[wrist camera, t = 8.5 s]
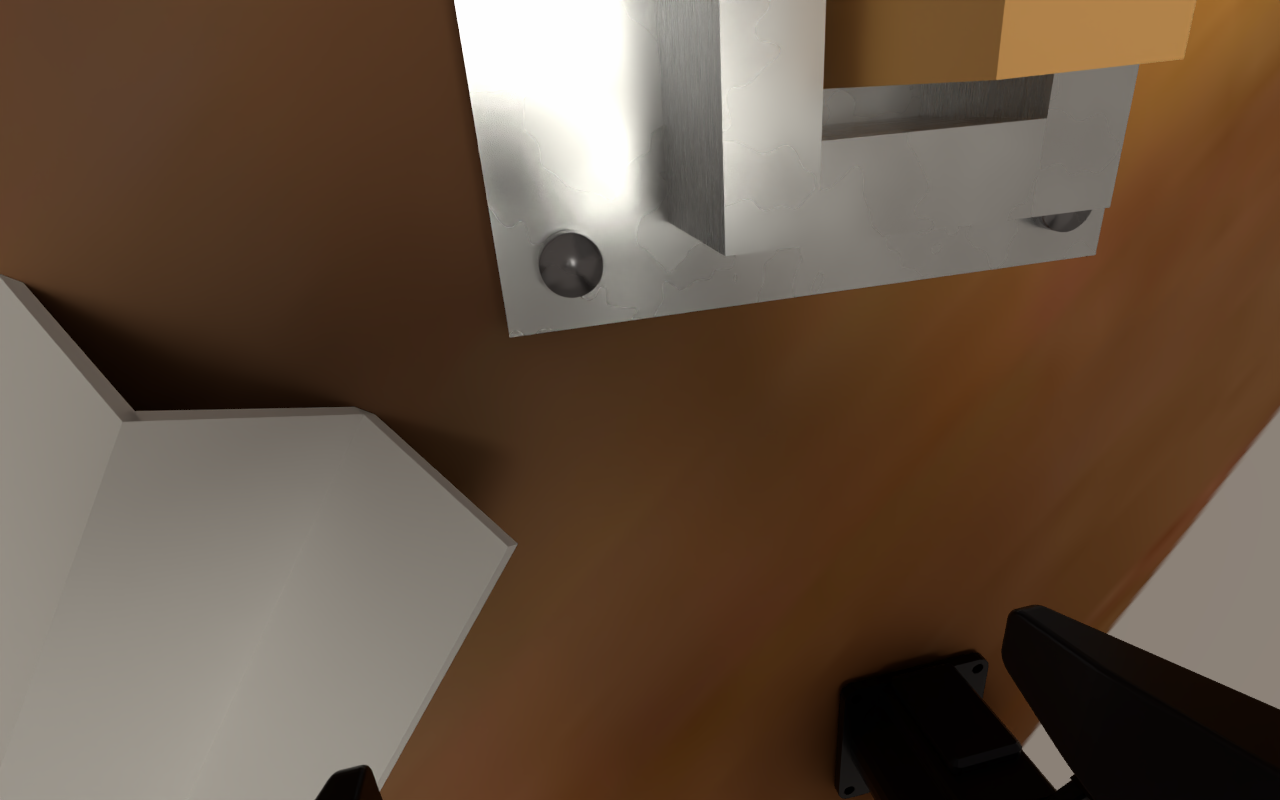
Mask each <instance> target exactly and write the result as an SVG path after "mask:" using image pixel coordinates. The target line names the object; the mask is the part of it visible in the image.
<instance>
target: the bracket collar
mask: <svg viewBox="0 0 1280 800" xmlns="http://www.w3.org/2000/svg"><path fill="white" fill-rule="evenodd" d="M454 2H455V8H456V14H457V20H458V26H459V32H460V38H461V44H462V51H463V57H464V63H465V69H466V75H467V81H468V87H469V93H470V99H471V105H472V111H473V117H474V123H475V129H476V135H477V142H478V148H479V154H480V160H481V166H482V172H483V178H484V184H485V190H486V196H487V202H488V208H489V214H490V220H491V226H492V232H493V239H494V245H495V251H496V257H497V263H498V269H499V275H500V281H501V287H502V293H503V299H504V305H505V311H506V317H507V323H508V330H509V336H510V337H517V336H524V335H531V334H538V333H546V332H553V331H560V330H567V329H574V328H581V327H588V326H595V325H602V324H609V323H616V322H623V321H630V320H638V319H645V318H652V317H659V316H666V315H673V314H680V313H687V312H694V311H701V310H708V309H715V308H722V307H730V306H737V305H744V304H751V303H758V302H765V301H772V300H779V299H786V298H793V297H800V296H807V295H814V294H821V293H829V292H836V291H843V290H850V289H857V288H864V287H871V286H878V285H885V284H892V283H899V282H906V281H913V280H921V279H928V278H935V277H942V276H949V275H956V274H963V273H970V272H977V271H984V270H991V269H998V268H1005V267H1013V266H1020V265H1027V264H1034V263H1041V262H1048V261H1055V260H1062V259H1069V258H1076V257H1083V256H1090V255H1095V254H1096V249H1097V244H1098V239H1099V234H1100V229H1101V224H1102V219H1103V214H1104V209H1105V208H1108V207H1110V204H1111V199H1112V194H1113V189H1114V185H1115V180H1116V175H1117V170H1118V165H1119V160H1120V155H1121V151H1122V146H1123V141H1124V136H1125V131H1126V126H1127V122H1128V117H1129V112H1130V107H1131V102H1132V97H1133V92H1134V88H1135V83H1136V78H1137V73H1138V68H1139V64H1135V65H1126V66H1117V67H1108V68H1099V69H1090V70H1081V71H1072V72H1063V73H1054V74H1045V75H1037V76H1028V77H1019V78H1010V79H1001V80H987V81H968V82H948V83H929V84H910V85H890V86H871V87H852V88H833V89H823V79H824V49H825V18H826V0H454Z"/></svg>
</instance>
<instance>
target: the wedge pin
mask: <svg viewBox="0 0 1280 800" xmlns="http://www.w3.org/2000/svg"><path fill="white" fill-rule="evenodd" d="M1195 5H1196V0H826V18H825V49H824V79H823V89H833V88H852V87H871V86H890V85H910V84H929V83H948V82H968V81H987V80H1001V79H1010V78H1019V77H1028V76H1037V75H1045V74H1054V73H1063V72H1072V71H1081V70H1090V69H1099V68H1108V67H1117V66H1126V65H1135V64H1144V63H1153V62H1162V61H1171V60H1180V59H1184V55H1185V51H1186V46H1187V42H1188V37H1189V32H1190V28H1191V23H1192V18H1193V14H1194V9H1195Z"/></svg>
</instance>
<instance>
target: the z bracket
mask: <svg viewBox="0 0 1280 800" xmlns="http://www.w3.org/2000/svg"><path fill="white" fill-rule="evenodd" d="M517 544H518V543H516V542H515V541H514V540H513V539H512V538H511V537H510V536H509V535H508V534H506V533H505V532H504V531H503V530H502V529H501V528H500V527H499V526H498V525H497V524H495V523H494V522H493V521H492V520H491V519H490V518H489V517H488V516H487V515H486V514H484V513H483V512H482V511H481V510H480V509H479V508H478V507H477V506H476V505H474V504H473V503H472V502H471V501H470V500H469V499H468V498H467V497H466V496H465V495H463V494H462V493H461V492H460V491H459V490H458V489H457V488H456V487H455V486H453V485H452V484H451V483H450V482H449V481H448V480H447V479H446V478H445V477H444V476H442V475H441V474H440V473H439V472H438V471H437V470H436V469H435V468H434V467H433V466H431V465H430V464H429V463H428V462H427V461H426V460H425V459H424V458H423V457H421V456H420V455H419V454H418V453H417V452H416V451H415V450H414V449H413V448H412V447H410V446H409V445H408V444H407V443H406V442H405V441H404V440H403V439H402V438H400V437H399V436H398V435H397V434H396V433H395V432H394V431H393V430H392V429H391V428H389V427H388V426H387V425H386V424H385V423H384V422H383V421H382V420H381V419H380V418H378V417H377V416H376V415H375V414H372V413H370V412H367V411H364V410H362V409H359V408H356V407H318V408H267V409H216V410H164V411H134V410H133V409H132V408H131V406H130V405H129V404H128V403H127V402H126V401H125V399H124V398H123V397H122V396H121V395H120V394H119V393H118V391H117V390H116V389H115V388H114V387H113V386H112V385H111V383H110V382H109V381H108V380H107V379H106V378H105V376H104V375H103V374H102V373H101V372H100V371H99V370H98V368H97V367H96V366H95V365H94V364H93V363H92V361H91V360H90V359H89V358H88V357H87V356H86V355H85V353H84V352H83V351H82V350H81V349H80V348H79V346H78V345H77V344H76V343H75V342H74V341H73V340H72V338H71V337H70V336H69V335H68V334H67V333H66V331H65V330H64V329H63V328H62V327H61V326H60V325H59V323H58V322H57V321H56V320H55V319H54V318H53V316H52V315H51V314H50V313H49V312H48V311H47V310H46V308H45V307H44V306H43V305H42V304H41V303H40V302H39V300H38V299H37V298H36V297H35V296H34V295H33V293H32V292H31V291H30V290H29V289H28V288H27V287H26V285H25V284H24V283H22V282H20V281H17V280H14V279H12V278H9V277H6V276H4V275H1V274H0V800H315V798H316V797H317V795H318V794H319V792H320V791H321V789H322V788H323V786H324V785H325V783H326V782H327V780H328V779H329V778H330V776H331V775H332V774H333V773H335V772H336V771H339V770H342V769H346V768H350V767H354V766H359V765H368V766H369V767H370V768H371V769H372V772H373V774H374V777H375V780H376V783H377V786H378V788H379V791H380V790H381V788H382V787H383V785H384V783H385V781H386V779H387V778H388V776H389V774H390V772H391V770H392V769H393V767H394V765H395V763H396V761H397V760H398V758H399V756H400V754H401V752H402V751H403V749H404V747H405V745H406V744H407V742H408V740H409V738H410V736H411V735H412V733H413V731H414V729H415V727H416V726H417V724H418V722H419V720H420V718H421V717H422V715H423V713H424V711H425V709H426V708H427V706H428V704H429V702H430V700H431V699H432V697H433V695H434V693H435V691H436V690H437V688H438V686H439V684H440V683H441V681H442V679H443V677H444V675H445V674H446V672H447V670H448V668H449V666H450V665H451V663H452V661H453V659H454V657H455V656H456V654H457V652H458V650H459V648H460V647H461V645H462V643H463V641H464V639H465V638H466V636H467V634H468V632H469V631H470V629H471V627H472V625H473V623H474V622H475V620H476V618H477V616H478V614H479V613H480V611H481V609H482V607H483V605H484V604H485V602H486V600H487V598H488V596H489V595H490V593H491V591H492V589H493V587H494V586H495V584H496V582H497V580H498V579H499V577H500V575H501V573H502V571H503V570H504V568H505V566H506V564H507V562H508V561H509V559H510V557H511V555H512V553H513V552H514V550H515V548H516V546H517Z"/></svg>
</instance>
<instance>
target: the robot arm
mask: <svg viewBox="0 0 1280 800" xmlns="http://www.w3.org/2000/svg"><path fill="white" fill-rule="evenodd" d="M1001 653H1002V659H1003V663H1004V665H1005V667H1006V669H1007V671H1008V673H1009V674H1010V676H1011V677H1012V679H1013V680H1014V682H1015V684H1016V685H1017V687H1018V688H1019V690H1020V691H1021V693H1022V694H1023V696H1024V698H1025V699H1026V701H1027V702H1028V704H1029V705H1030V707H1031V709H1032V710H1033V712H1034V713H1035V715H1036V716H1037V718H1038V719H1039V721H1040V723H1041V724H1042V725H1043V727H1044V729H1045V730H1046V732H1047V734H1048V735H1049V737H1050V738H1051V740H1052V741H1053V743H1054V745H1055V746H1056V748H1057V749H1058V751H1059V752H1060V754H1061V755H1062V757H1063V758H1064V760H1065V761H1066V763H1067V764H1068V766H1069V767H1070V768H1071V770H1072V771H1073V773H1074V775H1073V776H1071V777H1070V778H1071V781H1070V782H1069V783H1067V784H1066V785H1065V786H1063V787H1062V788H1060V789H1059V790H1056V789H1055V788H1054V787H1053V786H1052V785H1051V783H1050V782H1049V781H1048V780H1047V779H1046V777H1045V776H1044V775H1043V774H1042V773H1041V772H1040V770H1039V769H1038V768H1037V767H1036V766H1035V764H1034V763H1033V762H1032V761H1031V760H1030V759H1029V757H1028V756H1027V755H1026V754H1025V753H1024V752H1023V750H1022V746H1021V744H1020V743H1019V741H1018V740H1017V739H1016V738H1015V737H1014V736H1013V734H1012V733H1011V732H1010V731H1009V730H1008V728H1007V727H1006V726H1005V725H1004V724H1003V723H1002V721H1001V720H1000V719H999V718H998V717H997V716H996V714H995V713H994V712H993V711H992V710H991V709H990V707H989V706H988V705H987V704H986V703H985V702H984V700H983V693H984V688H985V682H986V677H987V671H988V662H987V661H986V659H985V658H984V657H983V656H982V655H981V654H980V653H970V654H966V655H962V656H958V657H954V658H950V659H946V660H942V661H938V662H934V663H930V664H926V665H922V666H918V667H914V668H910V669H906V670H901V671H897V672H893V673H889V674H885V675H881V676H877V677H873V678H869V679H865V680H861V681H857V682H853V683H850V684H848V685H846V686H845V687H844V688H843V689H842V691H841V694H840V706H839V722H838V738H837V754H836V769H835V789H836V791H837V792H838V794H839V796H840V797H841V798H844V799H846V798H851V797H855V796H858V795H862V794H865V793H869V792H870V793H871V794H872V796H873V798H874V800H1280V709H1277V708H1275V707H1273V706H1270V705H1268V704H1266V703H1264V702H1261V701H1259V700H1257V699H1255V698H1252V697H1250V696H1248V695H1245V694H1243V693H1241V692H1238V691H1236V690H1234V689H1232V688H1229V687H1227V686H1225V685H1223V684H1220V683H1218V682H1216V681H1213V680H1211V679H1209V678H1206V677H1204V676H1202V675H1200V674H1197V673H1195V672H1193V671H1191V670H1188V669H1186V668H1184V667H1181V666H1179V665H1177V664H1174V663H1172V662H1170V661H1168V660H1165V659H1163V658H1161V657H1159V656H1156V655H1154V654H1152V653H1149V652H1147V651H1145V650H1143V649H1140V648H1138V647H1135V646H1133V645H1131V644H1129V643H1127V642H1124V641H1122V640H1120V639H1117V638H1115V637H1113V636H1111V635H1108V634H1106V633H1104V632H1101V631H1099V630H1097V629H1095V628H1092V627H1090V626H1088V625H1085V624H1083V623H1081V622H1079V621H1076V620H1074V619H1072V618H1069V617H1067V616H1065V615H1063V614H1060V613H1058V612H1056V611H1053V610H1051V609H1049V608H1047V607H1044V606H1041V605H1030V606H1026V607H1022V608H1018V609H1014V610H1012V611H1011V612H1010V613H1009V615H1008V618H1007V623H1006V629H1005V634H1004V639H1003V644H1002V650H1001ZM315 800H382V797H381V794H380V791H379V788H378V786H377V783H376V780H375V777H374V774H373V772H372V769H371V768H370V767H369V766H368V765H359V766H354V767H350V768H346V769H342V770H339V771H336V772H335V773H333V774H332V775H331V776H330V778H329V779H328V780H327V782H326V783H325V785H324V786H323V788H322V789H321V791H320V792H319V794H318V795H317V797H316V798H315Z"/></svg>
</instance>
